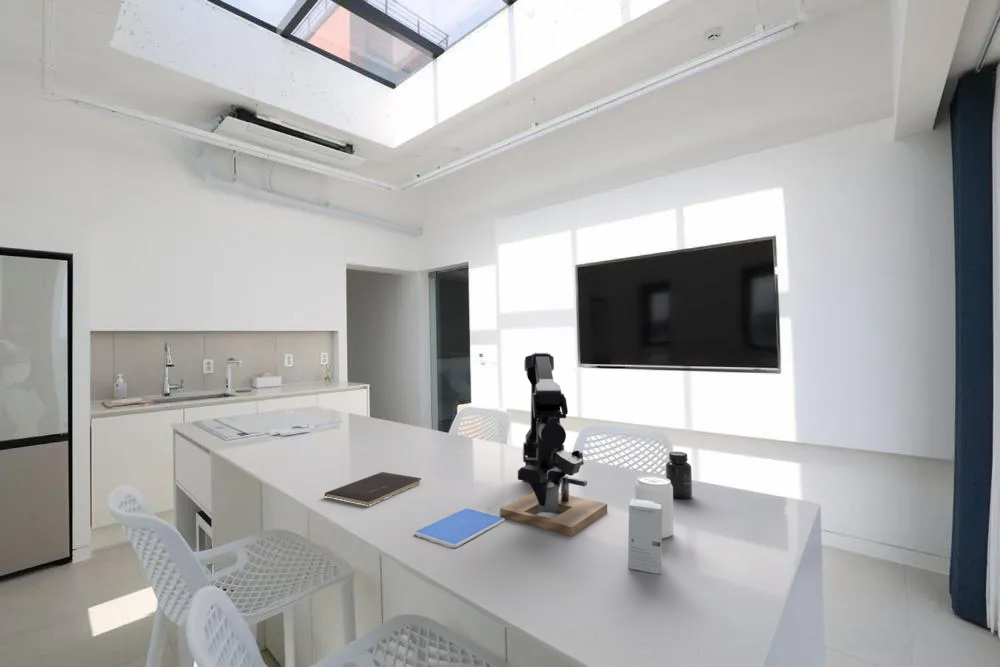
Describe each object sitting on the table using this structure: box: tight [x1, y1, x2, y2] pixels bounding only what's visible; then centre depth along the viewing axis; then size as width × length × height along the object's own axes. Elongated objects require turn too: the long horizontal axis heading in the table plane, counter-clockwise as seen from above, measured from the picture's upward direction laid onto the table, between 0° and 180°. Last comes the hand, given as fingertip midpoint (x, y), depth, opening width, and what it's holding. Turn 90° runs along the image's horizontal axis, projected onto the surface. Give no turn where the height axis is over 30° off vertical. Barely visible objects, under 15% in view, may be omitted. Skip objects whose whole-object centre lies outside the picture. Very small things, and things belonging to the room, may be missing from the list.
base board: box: [499, 491, 608, 537], centre depth 116 cm, size 20×19×2 cm
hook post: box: [560, 475, 588, 501], centre depth 119 cm, size 7×2×6 cm, turn 53°
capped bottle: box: [538, 482, 560, 514], centre depth 114 cm, size 5×5×6 cm
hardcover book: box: [324, 471, 422, 507], centre depth 135 cm, size 16×23×2 cm
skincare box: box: [627, 498, 663, 575], centre depth 89 cm, size 6×4×12 cm
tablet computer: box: [413, 508, 506, 549], centre depth 108 cm, size 19×13×1 cm, turn 146°
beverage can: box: [634, 474, 674, 539], centre depth 105 cm, size 8×8×12 cm
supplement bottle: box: [665, 451, 693, 500], centre depth 131 cm, size 7×7×12 cm
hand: (548, 502), depth 114 cm, fingers closed on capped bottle, 5 cm apart
